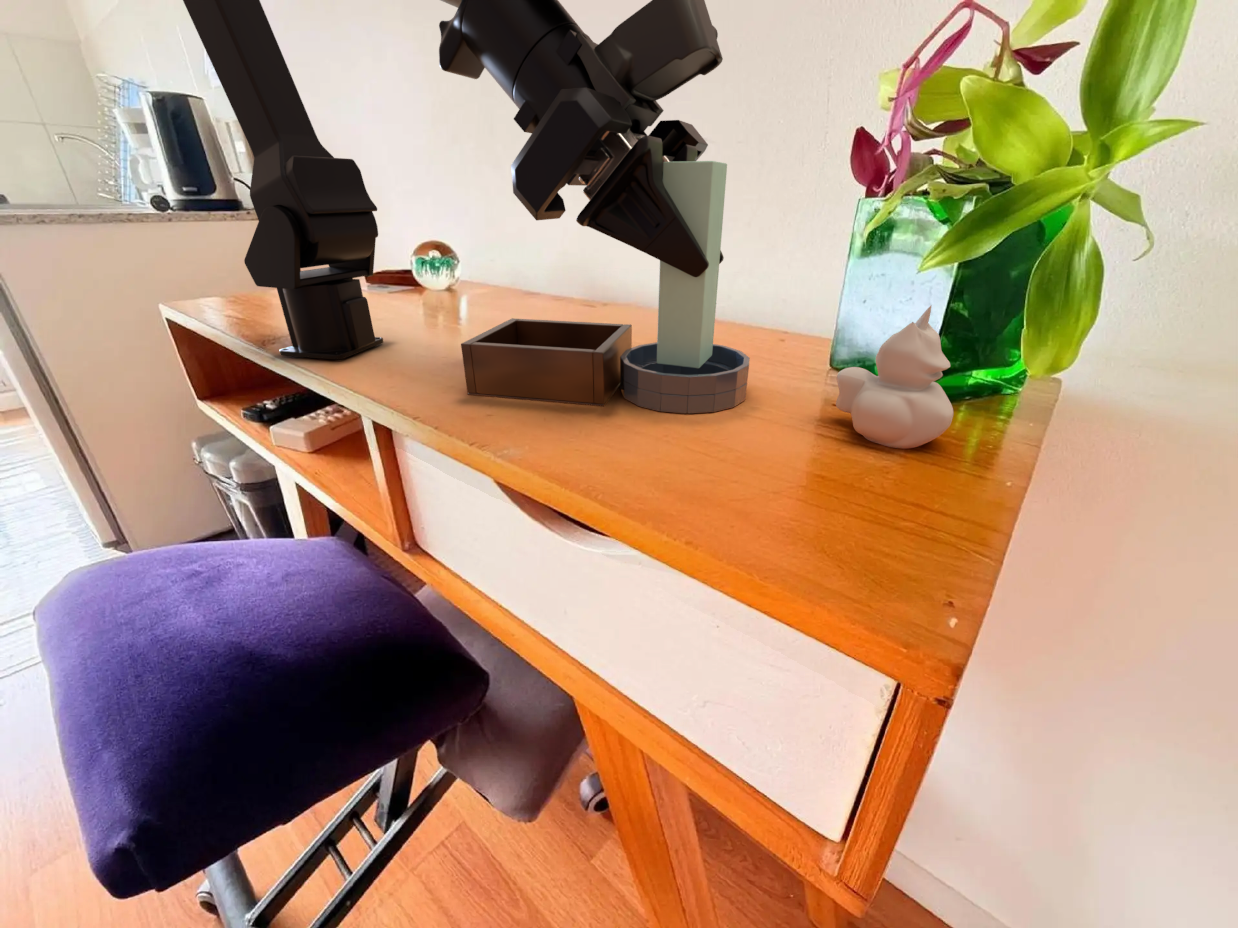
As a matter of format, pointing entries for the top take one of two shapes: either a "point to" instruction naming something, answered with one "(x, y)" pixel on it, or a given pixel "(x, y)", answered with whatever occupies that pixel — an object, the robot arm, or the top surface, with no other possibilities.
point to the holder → (547, 361)
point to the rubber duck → (900, 390)
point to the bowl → (684, 381)
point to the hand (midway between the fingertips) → (711, 268)
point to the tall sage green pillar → (680, 294)
